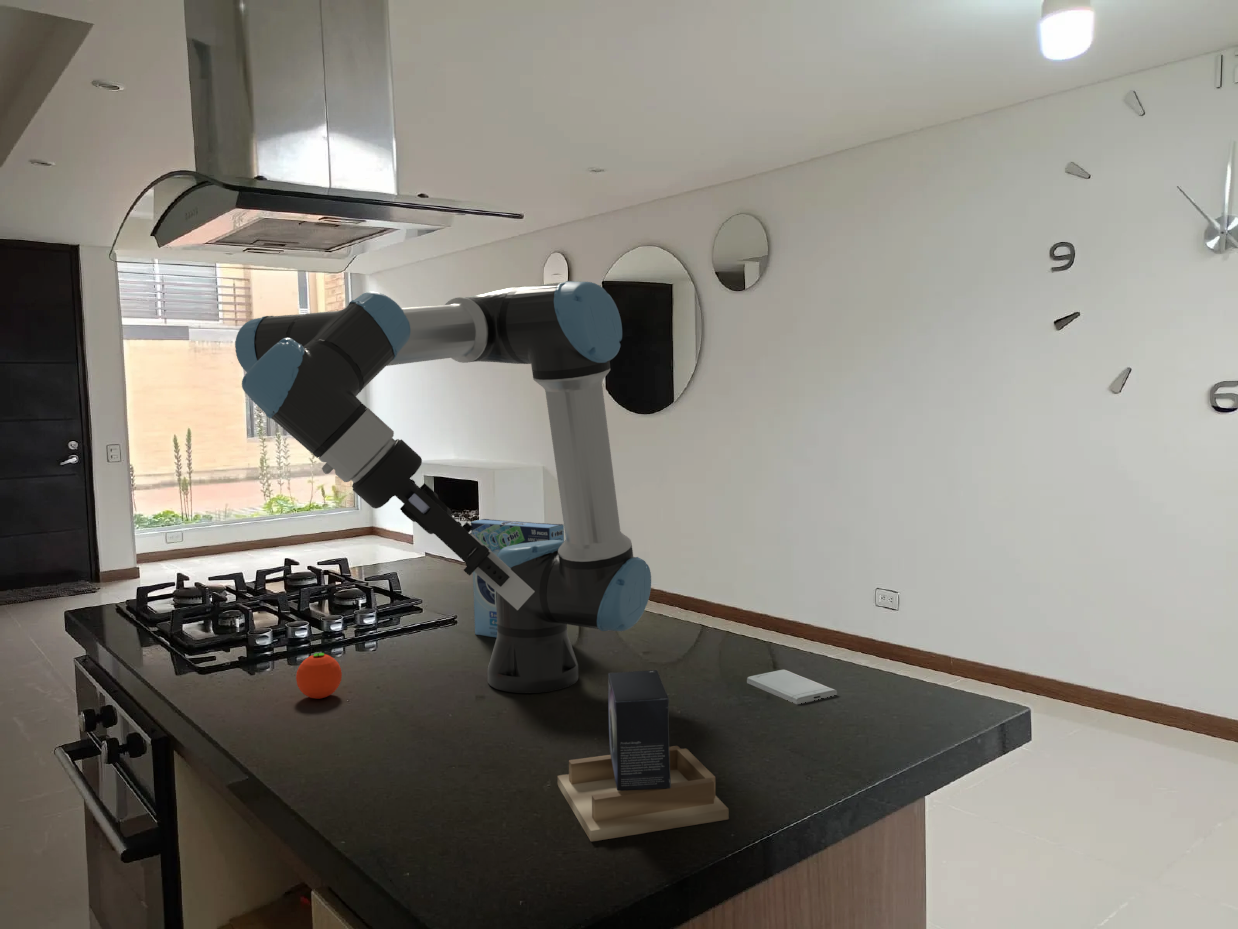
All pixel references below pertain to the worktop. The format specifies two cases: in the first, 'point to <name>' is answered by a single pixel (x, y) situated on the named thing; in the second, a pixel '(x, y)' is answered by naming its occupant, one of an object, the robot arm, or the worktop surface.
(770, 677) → the hard drive
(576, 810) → the tray
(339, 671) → the clementine
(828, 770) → the worktop surface
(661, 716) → the small box
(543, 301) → the robot arm
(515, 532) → the gum box
